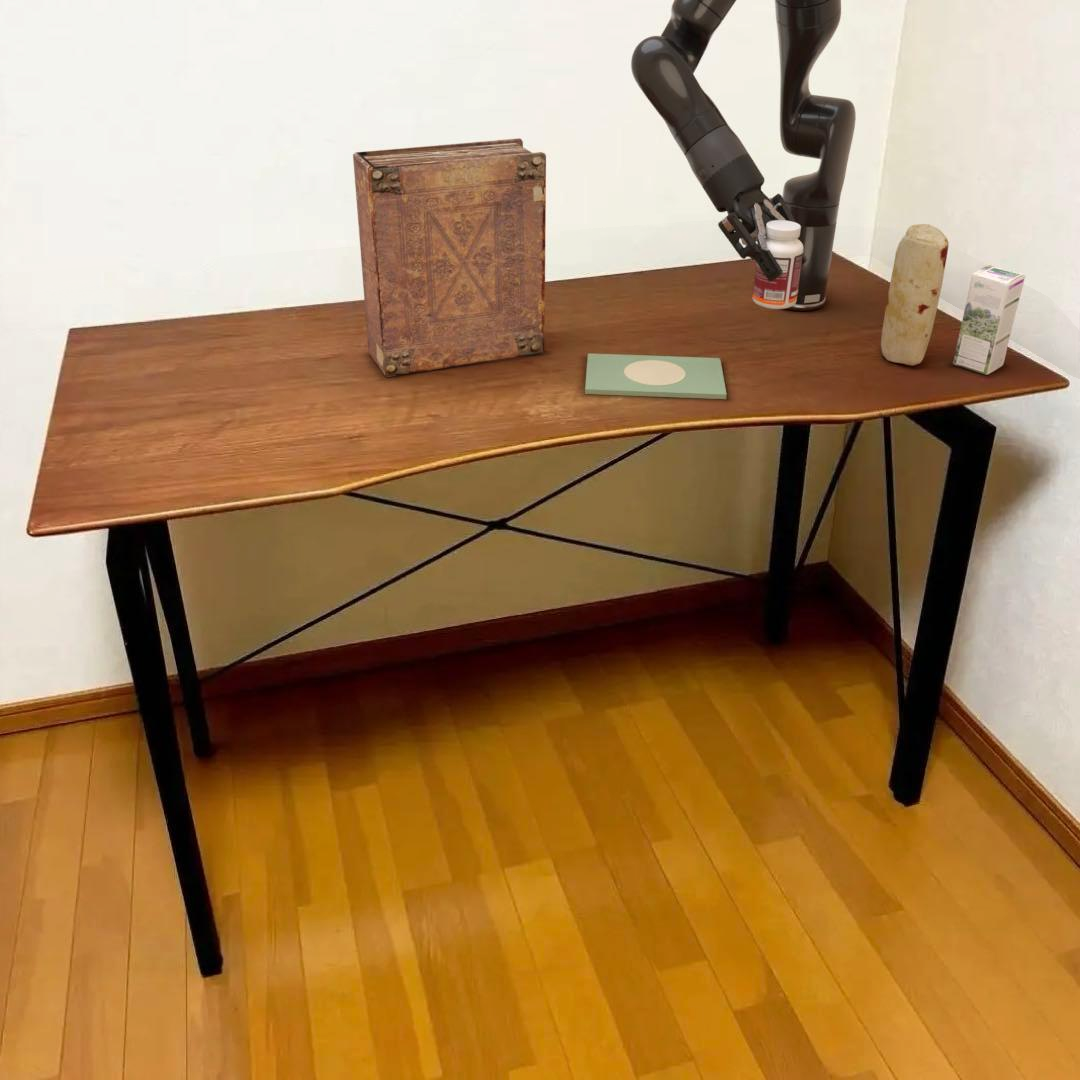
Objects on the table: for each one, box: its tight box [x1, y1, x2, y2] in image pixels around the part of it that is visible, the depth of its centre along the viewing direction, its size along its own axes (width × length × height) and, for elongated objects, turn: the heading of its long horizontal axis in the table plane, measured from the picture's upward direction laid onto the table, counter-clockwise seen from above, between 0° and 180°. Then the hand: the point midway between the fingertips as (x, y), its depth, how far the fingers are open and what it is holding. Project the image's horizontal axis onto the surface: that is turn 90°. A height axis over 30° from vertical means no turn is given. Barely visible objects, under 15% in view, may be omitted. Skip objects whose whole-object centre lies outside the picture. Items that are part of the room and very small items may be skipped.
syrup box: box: [952, 264, 1026, 376], centre depth 165 cm, size 6×6×14 cm
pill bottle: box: [752, 220, 803, 310], centre depth 155 cm, size 6×6×11 cm
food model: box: [880, 223, 950, 366], centre depth 166 cm, size 10×7×20 cm
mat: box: [584, 353, 728, 400], centre depth 164 cm, size 13×20×1 cm, turn 86°
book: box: [352, 137, 547, 378], centre depth 163 cm, size 25×9×30 cm, turn 112°
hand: (788, 271), depth 154 cm, fingers closed on pill bottle, 6 cm apart
